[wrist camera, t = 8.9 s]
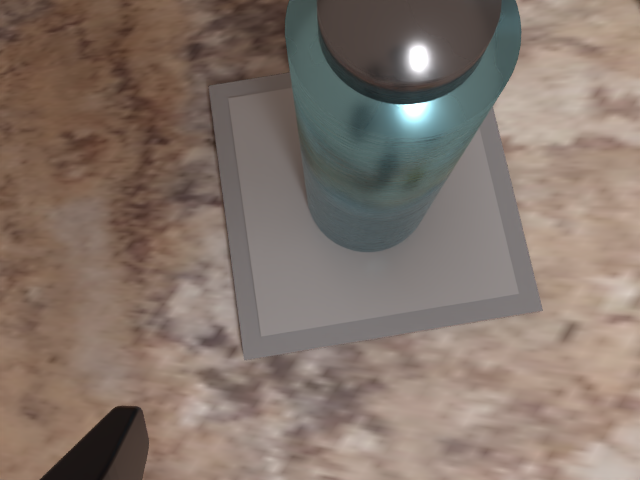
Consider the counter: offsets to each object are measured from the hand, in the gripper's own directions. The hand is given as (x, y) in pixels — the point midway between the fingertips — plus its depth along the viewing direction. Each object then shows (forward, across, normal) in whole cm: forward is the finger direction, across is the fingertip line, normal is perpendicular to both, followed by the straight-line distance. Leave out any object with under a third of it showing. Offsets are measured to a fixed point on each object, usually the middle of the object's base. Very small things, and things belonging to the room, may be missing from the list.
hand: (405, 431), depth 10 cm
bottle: (+15, 0, +3) cm, 15 cm away
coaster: (+15, 0, +4) cm, 16 cm away
